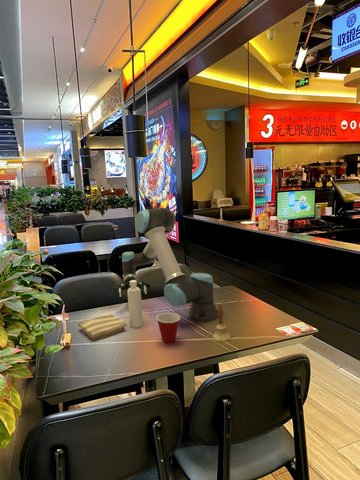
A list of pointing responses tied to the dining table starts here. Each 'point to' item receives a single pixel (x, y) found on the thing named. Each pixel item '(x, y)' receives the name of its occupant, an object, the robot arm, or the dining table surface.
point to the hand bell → (221, 327)
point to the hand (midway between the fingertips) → (133, 293)
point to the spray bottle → (135, 305)
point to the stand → (102, 326)
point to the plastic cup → (168, 326)
